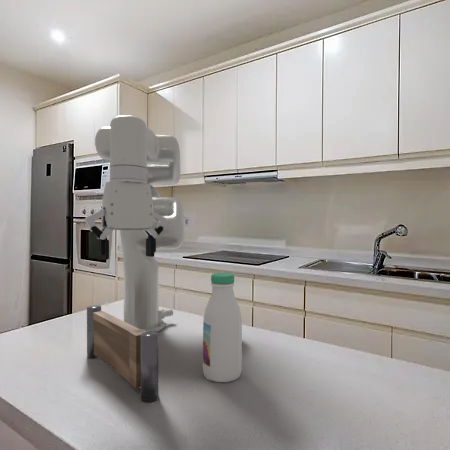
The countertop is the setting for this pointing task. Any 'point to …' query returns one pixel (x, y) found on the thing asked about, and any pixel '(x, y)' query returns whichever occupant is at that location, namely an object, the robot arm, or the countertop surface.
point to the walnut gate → (118, 346)
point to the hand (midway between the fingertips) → (128, 257)
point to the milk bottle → (222, 331)
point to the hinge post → (91, 330)
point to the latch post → (149, 366)
